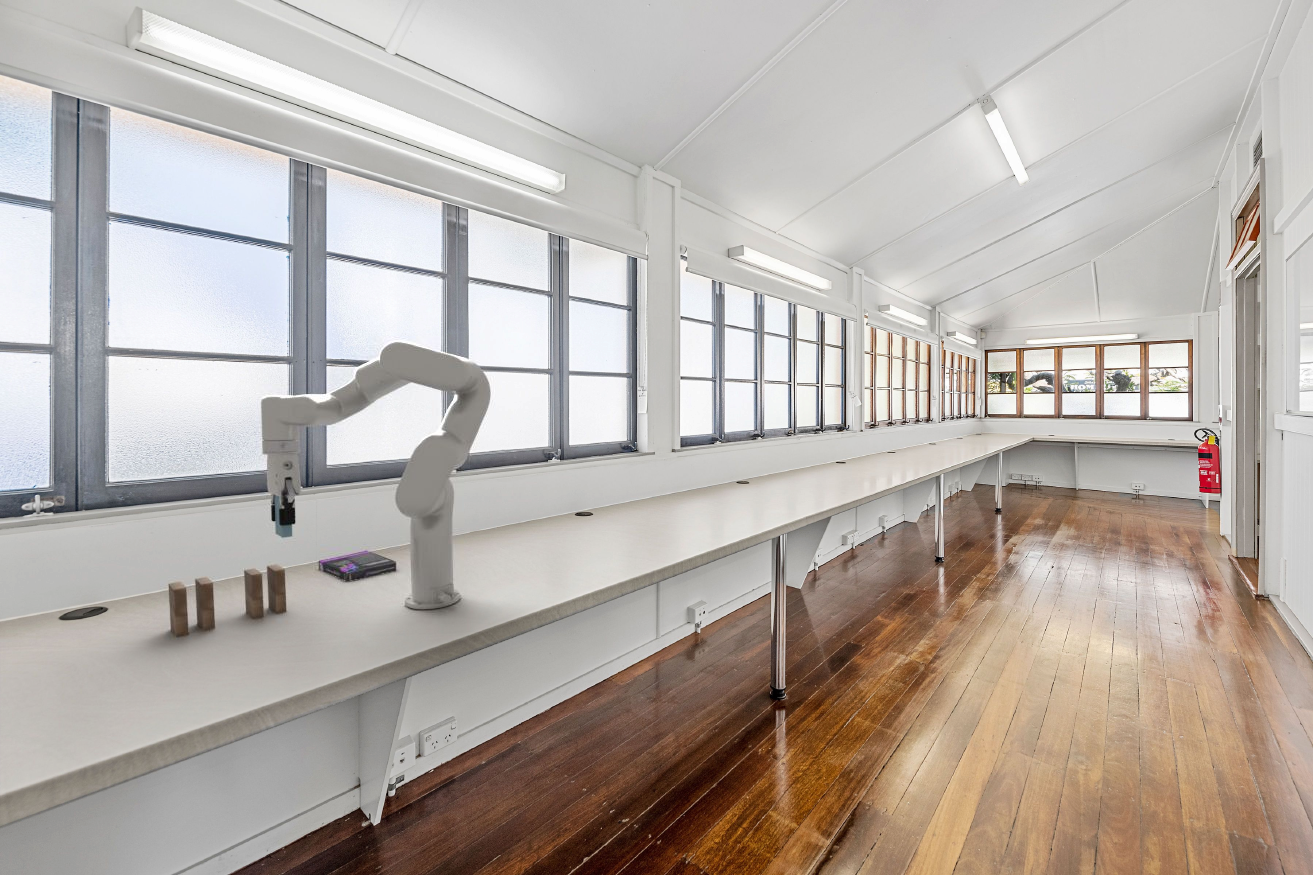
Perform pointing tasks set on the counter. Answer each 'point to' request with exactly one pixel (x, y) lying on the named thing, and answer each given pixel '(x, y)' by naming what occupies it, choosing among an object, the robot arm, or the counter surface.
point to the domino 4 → (280, 530)
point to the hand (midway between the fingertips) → (283, 521)
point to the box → (357, 565)
